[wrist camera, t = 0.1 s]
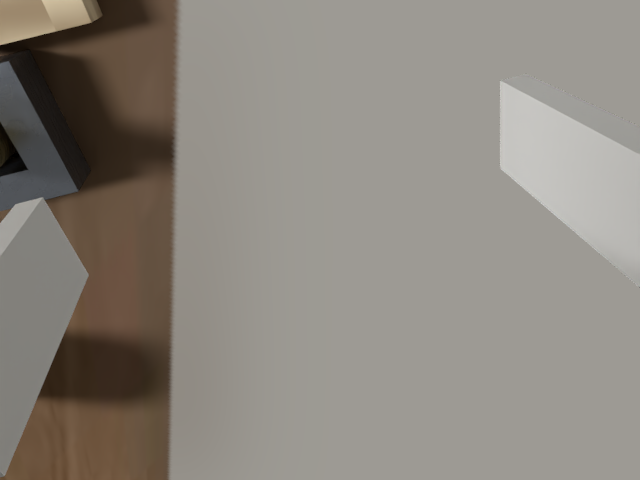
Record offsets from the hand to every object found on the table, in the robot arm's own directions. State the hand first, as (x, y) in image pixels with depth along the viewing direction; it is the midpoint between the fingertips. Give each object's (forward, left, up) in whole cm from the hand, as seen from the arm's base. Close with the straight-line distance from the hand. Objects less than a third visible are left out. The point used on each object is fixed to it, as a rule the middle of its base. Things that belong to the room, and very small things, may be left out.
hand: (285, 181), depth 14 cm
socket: (+3, -21, -28) cm, 35 cm away
